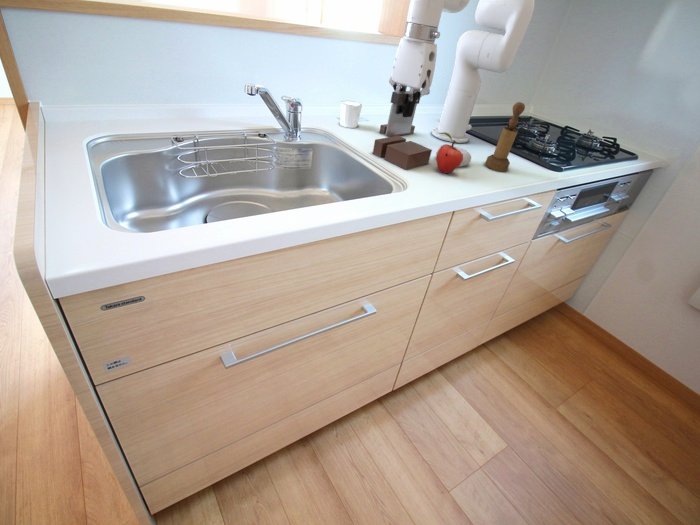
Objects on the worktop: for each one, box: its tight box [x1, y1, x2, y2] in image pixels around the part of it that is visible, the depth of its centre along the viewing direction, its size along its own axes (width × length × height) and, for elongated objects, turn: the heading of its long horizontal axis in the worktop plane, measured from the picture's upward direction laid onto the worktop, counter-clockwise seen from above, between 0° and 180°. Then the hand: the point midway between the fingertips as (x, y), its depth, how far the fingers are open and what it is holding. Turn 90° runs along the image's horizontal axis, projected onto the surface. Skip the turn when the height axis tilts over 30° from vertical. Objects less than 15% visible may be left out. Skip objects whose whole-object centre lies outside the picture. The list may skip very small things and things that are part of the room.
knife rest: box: [379, 123, 416, 138], centre depth 122 cm, size 12×5×2 cm, turn 133°
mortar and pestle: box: [484, 101, 526, 172], centre depth 102 cm, size 7×6×18 cm
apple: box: [435, 132, 463, 174], centre depth 96 cm, size 8×7×10 cm
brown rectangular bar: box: [372, 136, 407, 158], centre depth 103 cm, size 10×3×4 cm, turn 133°
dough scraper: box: [384, 90, 421, 137], centre depth 97 cm, size 10×2×11 cm, turn 133°
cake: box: [384, 140, 433, 171], centre depth 100 cm, size 10×8×4 cm
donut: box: [435, 145, 472, 167], centre depth 105 cm, size 10×4×10 cm
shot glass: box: [339, 100, 363, 129], centre depth 120 cm, size 7×7×7 cm
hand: (402, 114), depth 97 cm, fingers closed on dough scraper, 2 cm apart
